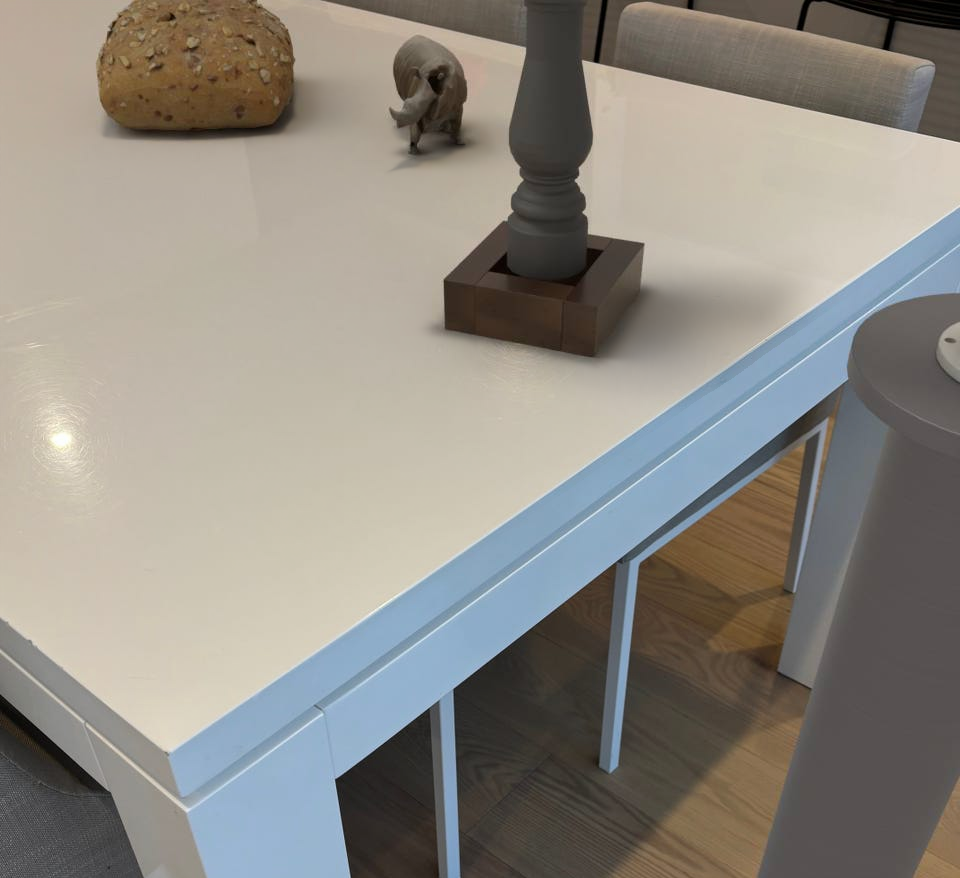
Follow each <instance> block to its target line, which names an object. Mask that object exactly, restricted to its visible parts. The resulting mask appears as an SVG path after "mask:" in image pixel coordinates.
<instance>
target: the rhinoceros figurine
mask: <svg viewBox="0 0 960 878" xmlns="http://www.w3.org/2000/svg"><path fill="white" fill-rule="evenodd" d="M393 59H394V60H393V64H392V75H393V79H394V83H395V89H396V91H397V95H398V96H399V98H400V100H402V101H403V106H402V108H401V110H400V111H399V110H394V109H393V108H392V106H389V107H388V111H389V114H390V116H391V118H392V119H393V120H394V121H396V128H397V129H402V128H405V127H407V126H409V133H410V141H409V149H410V151H408V150H407V152H408V153H410V154H412V155H418V156H419V155H422V154H423V151H421V150H420V149H419V148H418V145H419V142H420V141H421V137H422V135H424V134H427V133H429V132H433V131H434V130H436V129H437V128H439V129H437V132H438V131H440V129H441V130H443V131H444V132H445V133H449V139H450V140H451V141H452V140H453V141H455V142H453V144H454V145H461V144H467V142H466V140H465V137H464V136H463V135H462V133H461V127H462V120H463V115H464V104H465V102H467V100H468V84H467V83H468V80H467V79H466V76H465V72H464V71H465V70H464V68H463V66H462V64H461V63H460V61H459V59H458V58H457V57H456V55H455V54H454V52H452V51H451V50H449V48H447V47H446V46H444V45H443V44H441V43H440V42H438V41H435V40H433V39H431V38H429V37H427V36H424V35H421V34H415V35H413V36H412V37H410V38H409V39H407V40H406V41H405V42H403V44H402V46H400V47H399V48H398V51H397V52H396V54H395V56H394V58H393Z"/></svg>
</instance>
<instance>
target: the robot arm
mask: <svg viewBox="0 0 960 878" xmlns="http://www.w3.org/2000/svg"><path fill="white" fill-rule="evenodd" d="M936 355H937V359H938V361H939V363H940V365H941V367H942V368H943V369H944V370H945V371H946V372H947V374H948V375H950V376H951V377H952V378H954V379H955V380H956V381H957V382H959V383H960V322H958V323H956V324H954V325H952V326H950V327H949V328H947V329H946V330H945V331H944V332H943V333H942V335H941V337H940V339H939V342H938V346H937V349H936Z"/></svg>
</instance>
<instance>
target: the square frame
mask: <svg viewBox="0 0 960 878" xmlns="http://www.w3.org/2000/svg"><path fill="white" fill-rule="evenodd" d="M507 223H508V220H502V221H501V222H500V223H499V224H498V225H497V226H496V227H495V228H494V229H493V230H492V231H491V232H490V233H489V234H487V236H486V237H485V238H484V239H483V240H482V241H481V242H479V244H478V245H477V246H476V247H475V248H474V249H472V251H470V252H469V254H467V255H466V257H465V258H463V259H462V260H461V262H460V263H458V264H457V265H456V266H455V267H454V268H453V269H452V270H451V271H450V272H449V273H448V275H446V276H445V277H444V278H443V279H442V280H443V281H442V283H443V312H444V313H443V316H444V329H446V330H453V331H455V332H457V331H458V332H462V333H467V334H472V335H477V336H481V337H488V338H493V339H498V340H502V341H507V342H508V341H509V342H514V343H519V344H523V345H529V346H535V347H540V348H544V349H549V350H555V351H560V352H566V353H570V354H576V355H580V356H586V357H593V358H594V357H595V356H596V354H597V352H598V351H599V350H600V348H601V347H602V345H603V344H604V342H605V341H606V340H607V338H608V337H609V335H610V334H611V333H612V331H613V330H614V328H615V327H616V326H617V324H618V323H619V321H620V320H621V318H622V317H623V316H624V314H625V313H626V312H627V310H628V308H629V306H630V305H631V304H632V302H633V301H634V300H635V298H636V297H637V295H638V294H639V292H640V291H641V284H642V272H643V265H644V254H645V242H639V241H635V240H628V239H623V238H622V239H621V238H616V237H615V238H614V237H610V236H603V235H596V234H590V233H588V236H587V252H586V267H585V268H584V269H583V270H582V271H581V272H580V273H578V274H576V275H573V276H571V277H568V278H563V279H557V280H537V279H532V278H526V277H523V276H520V275H518V274H516V273H514V272H512V271H511V270H510V269H509V267H508V266H507Z"/></svg>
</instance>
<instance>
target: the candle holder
mask: <svg viewBox="0 0 960 878" xmlns="http://www.w3.org/2000/svg"><path fill="white" fill-rule="evenodd" d="M523 6H524V7H526V26H525V28H526V30H525V31H526V32H525V56H524V60H523V65H522V69H521V74H520V79H519V81H518V82H519V83H518V88H517V92H516V96H515V101H514V105H513V109H512V114H511V118H510V123H509V127H508V147H509V150H510V154H511V156H512V158H513V160H514V162H515V163H516V164H517V165H518V166H519V177H520V178H521V179H522V181H521V182H520V183H519V184H518V186H517V187H516V191H515V192H514V193H513V194H511V197H510V208H511V210H512V212H511V213H510V214H509V215H508V216H507V221H508V223H507V266H508V267H509V269H510V270H511V271H512V272H514V273H516V274H518V275H520V276H523V277H526V278H532V279H537V280H557V279H563V278H568V277H571V276H573V275H576V274H578V273H580V272H581V271H582V270H583V269H584V268H585V267H586V252H587V236H588V234H589V219H588V216H587V215H586V214H585V213H584V211H585V210H586V208H587V199H586V195H585V194H584V193H583V192H582V190H581V187H580V186H579V184H578V182H576V180H577V179H578V178H579V176H580V167H581V166H582V165H583V164H584V163H585V162H586V160H587V158H588V157H589V155H590V153H591V151H592V147H593V143H594V131H593V123H592V117H591V112H590V111H591V110H590V105H589V99H588V91H587V86H586V85H587V84H586V80H585V79H586V78H585V71H584V65H583V58H582V53H583V52H582V51H583V50H582V49H583V33H584V32H583V31H584V13H585V12H584V10H585V7H586V6H588V0H523Z"/></svg>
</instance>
